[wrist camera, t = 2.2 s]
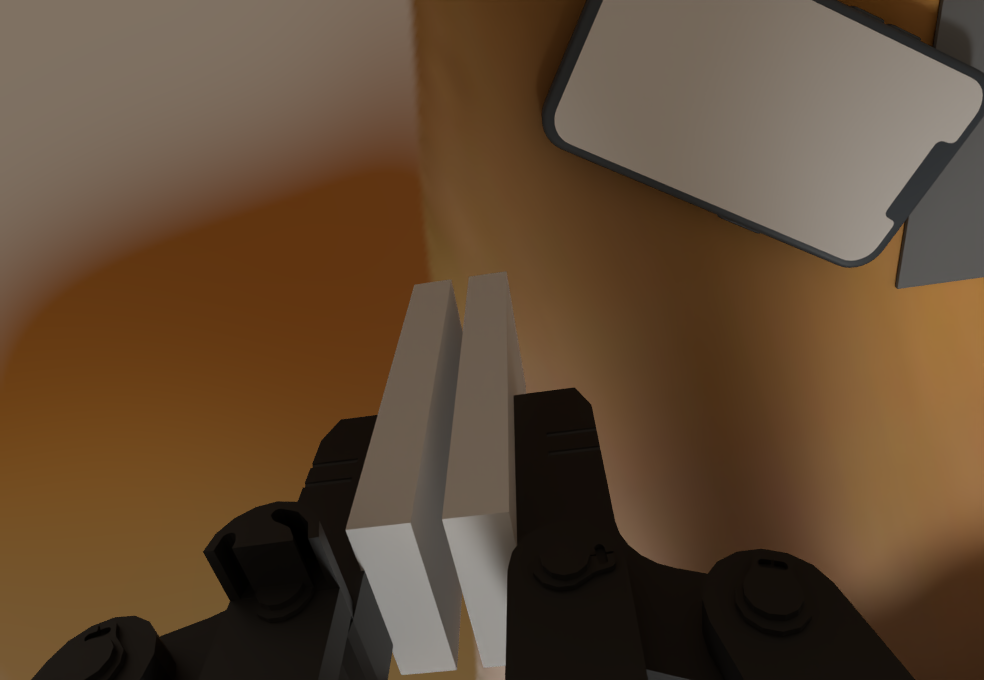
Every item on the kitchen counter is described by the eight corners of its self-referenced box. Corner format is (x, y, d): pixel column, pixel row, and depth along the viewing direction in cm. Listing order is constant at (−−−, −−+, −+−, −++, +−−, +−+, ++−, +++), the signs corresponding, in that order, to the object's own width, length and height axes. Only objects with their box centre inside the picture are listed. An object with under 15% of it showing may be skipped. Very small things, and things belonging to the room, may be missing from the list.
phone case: (530, 132, 28) (848, 266, 30) (530, 141, 26) (864, 280, 28) (626, -101, 23) (987, 76, 26) (633, -106, 22) (1014, 81, 24)
